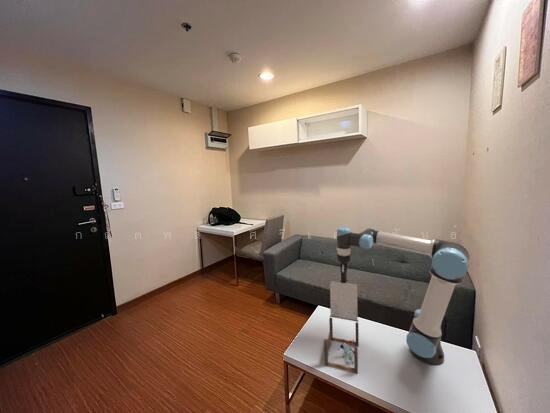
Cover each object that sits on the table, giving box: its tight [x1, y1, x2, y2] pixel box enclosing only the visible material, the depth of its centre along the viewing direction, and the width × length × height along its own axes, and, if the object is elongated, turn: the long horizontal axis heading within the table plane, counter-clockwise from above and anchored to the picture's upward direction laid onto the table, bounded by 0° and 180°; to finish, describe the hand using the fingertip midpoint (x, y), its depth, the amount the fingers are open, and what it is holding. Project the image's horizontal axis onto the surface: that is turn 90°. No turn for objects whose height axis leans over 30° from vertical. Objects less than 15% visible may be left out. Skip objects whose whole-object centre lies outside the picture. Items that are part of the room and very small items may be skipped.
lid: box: [329, 280, 359, 323], centre depth 129 cm, size 16×22×1 cm
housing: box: [323, 317, 360, 375], centre depth 120 cm, size 16×20×14 cm
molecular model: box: [337, 339, 356, 364], centre depth 119 cm, size 12×10×10 cm
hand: (344, 291), depth 133 cm, fingers closed
